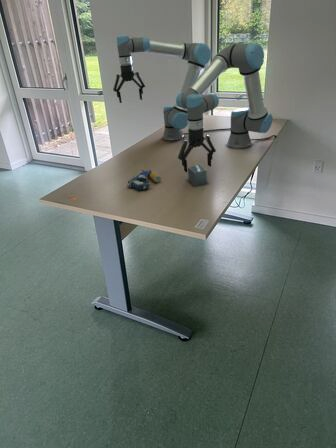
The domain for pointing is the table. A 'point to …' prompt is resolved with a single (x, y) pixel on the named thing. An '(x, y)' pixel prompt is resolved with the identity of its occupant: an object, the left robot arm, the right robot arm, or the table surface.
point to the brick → (197, 175)
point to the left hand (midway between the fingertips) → (130, 101)
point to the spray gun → (143, 179)
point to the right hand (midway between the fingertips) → (197, 168)
